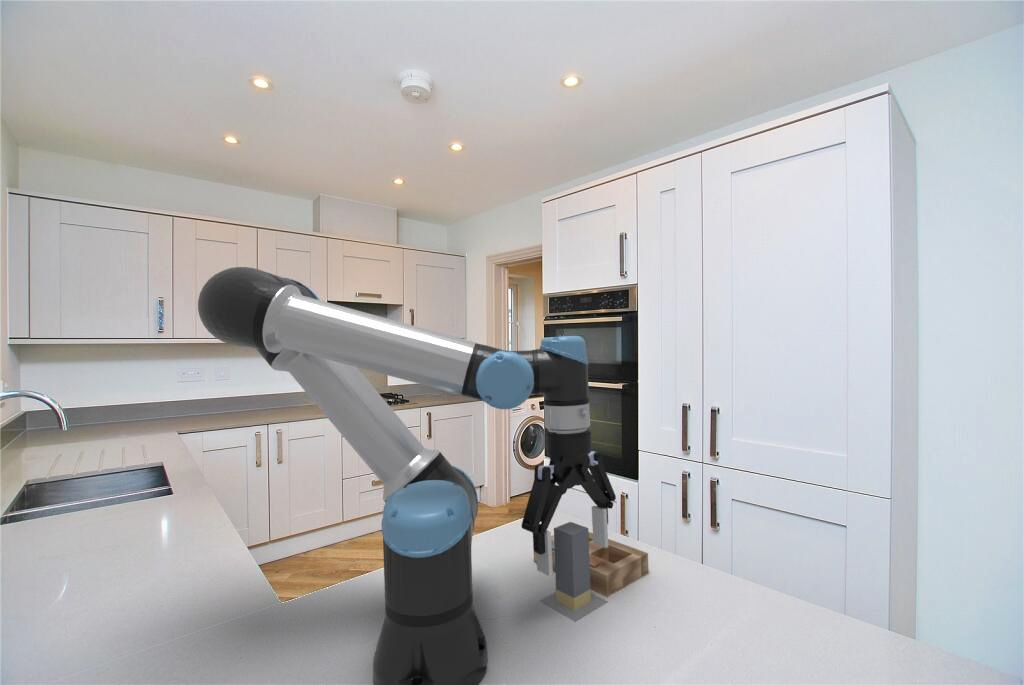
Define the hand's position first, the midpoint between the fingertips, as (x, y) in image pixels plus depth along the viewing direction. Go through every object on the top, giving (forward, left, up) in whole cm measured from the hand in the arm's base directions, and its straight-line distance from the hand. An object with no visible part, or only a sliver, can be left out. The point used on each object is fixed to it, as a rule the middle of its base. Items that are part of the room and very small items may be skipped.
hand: (574, 558), depth 77 cm
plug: (0, 0, -7) cm, 7 cm away
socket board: (+11, +6, -7) cm, 14 cm away
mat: (0, 0, -7) cm, 7 cm away
